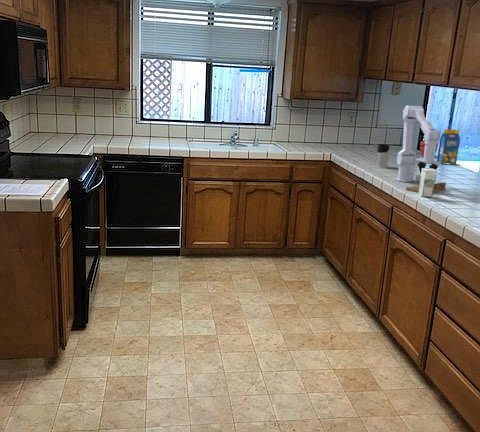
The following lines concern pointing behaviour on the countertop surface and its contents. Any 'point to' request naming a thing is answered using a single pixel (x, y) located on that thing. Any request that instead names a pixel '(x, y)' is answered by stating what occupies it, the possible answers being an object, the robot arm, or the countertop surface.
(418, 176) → the tray
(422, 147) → the plant pot
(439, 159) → the blue food package
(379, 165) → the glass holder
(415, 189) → the shelf
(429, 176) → the syrup box
